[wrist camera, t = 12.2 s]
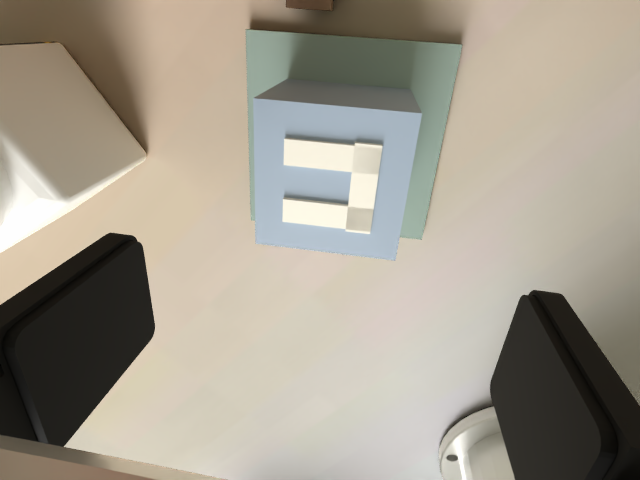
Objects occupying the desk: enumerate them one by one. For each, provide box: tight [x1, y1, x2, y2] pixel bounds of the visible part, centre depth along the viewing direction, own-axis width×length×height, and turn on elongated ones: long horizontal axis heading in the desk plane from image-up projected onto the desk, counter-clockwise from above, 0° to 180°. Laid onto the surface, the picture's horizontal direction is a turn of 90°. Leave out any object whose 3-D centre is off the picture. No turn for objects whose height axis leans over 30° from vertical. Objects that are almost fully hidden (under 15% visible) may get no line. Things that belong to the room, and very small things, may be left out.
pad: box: [246, 29, 462, 240], centre depth 21 cm, size 10×10×1 cm
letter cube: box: [253, 79, 422, 261], centre depth 18 cm, size 6×6×6 cm
